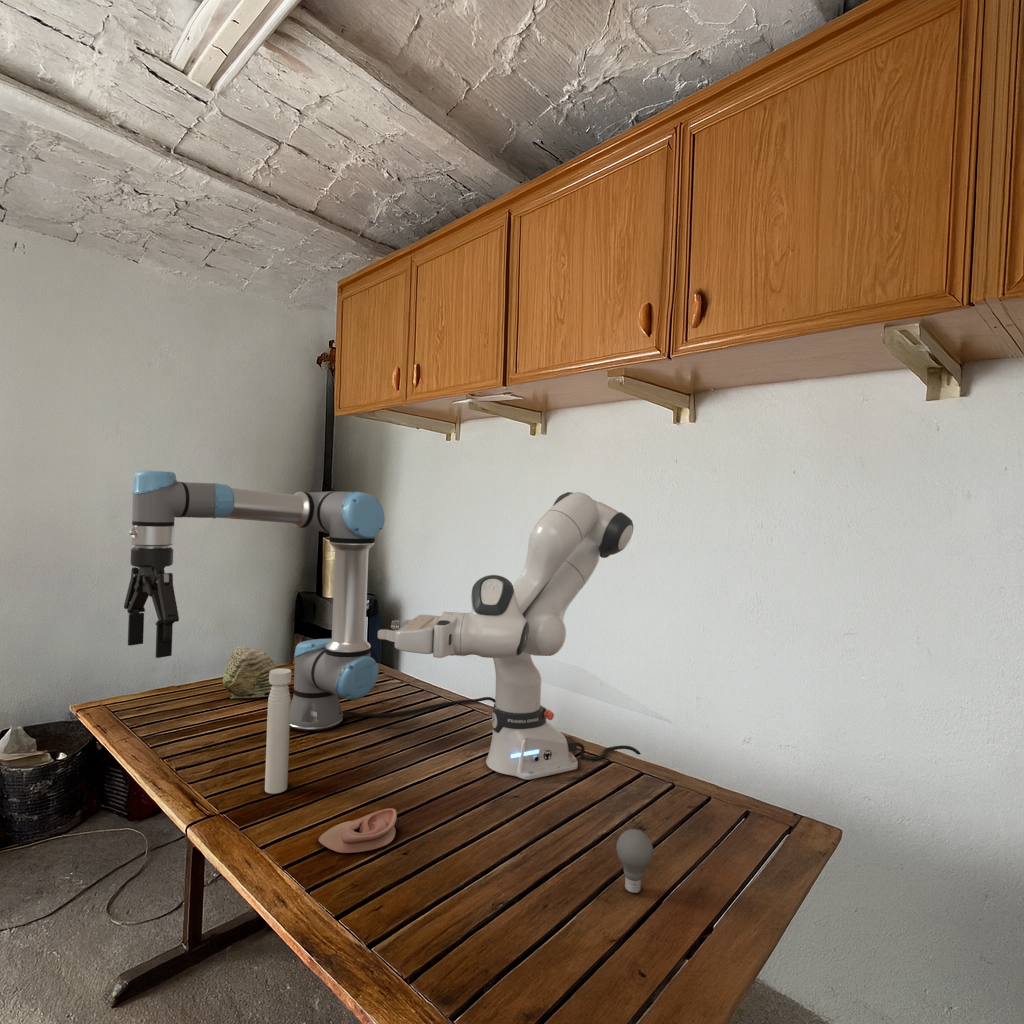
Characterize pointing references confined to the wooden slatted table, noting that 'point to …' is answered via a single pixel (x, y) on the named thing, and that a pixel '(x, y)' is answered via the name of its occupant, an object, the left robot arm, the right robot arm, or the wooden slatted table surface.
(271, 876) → the wooden slatted table surface
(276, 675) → the cap
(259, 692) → the fossil
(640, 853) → the light bulb
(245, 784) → the wooden slatted table surface
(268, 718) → the bottle
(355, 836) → the anatomical model
